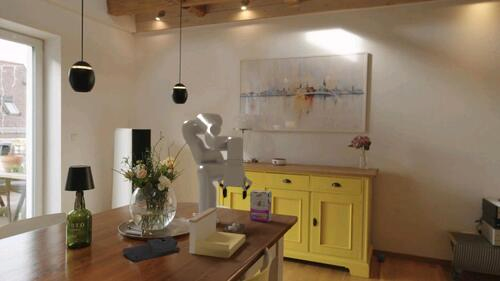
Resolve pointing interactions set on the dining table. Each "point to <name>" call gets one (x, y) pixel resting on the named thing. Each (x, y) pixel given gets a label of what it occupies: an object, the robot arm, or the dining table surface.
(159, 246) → the dark slate chunk
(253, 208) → the candy bar box
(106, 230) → the dining table surface
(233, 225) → the caddy
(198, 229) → the counter shelf
